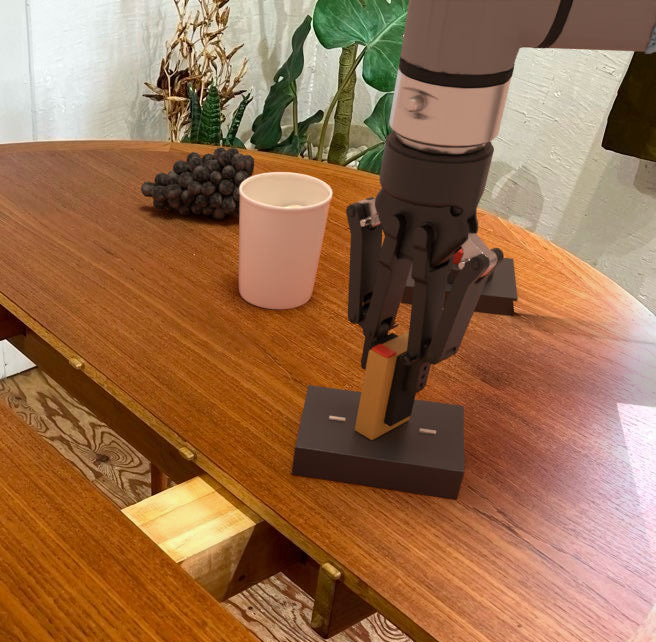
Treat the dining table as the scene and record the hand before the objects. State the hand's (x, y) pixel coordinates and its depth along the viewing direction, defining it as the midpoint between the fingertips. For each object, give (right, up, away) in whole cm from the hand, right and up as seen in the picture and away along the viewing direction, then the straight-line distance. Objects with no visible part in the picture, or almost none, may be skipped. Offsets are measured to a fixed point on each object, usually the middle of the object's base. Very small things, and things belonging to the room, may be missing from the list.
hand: (385, 411), depth 83 cm
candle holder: (-6, +16, +26) cm, 31 cm away
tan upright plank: (0, -1, +1) cm, 1 cm away
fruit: (-14, +31, +43) cm, 55 cm away
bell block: (+15, +17, +27) cm, 35 cm away
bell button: (+15, +20, +24) cm, 35 cm away
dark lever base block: (0, -3, +3) cm, 4 cm away
